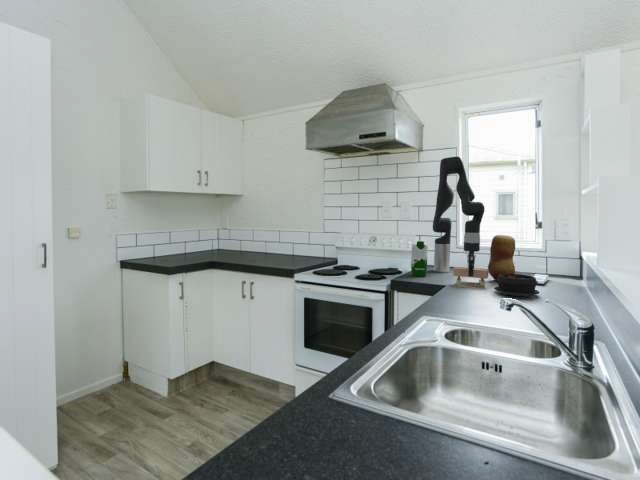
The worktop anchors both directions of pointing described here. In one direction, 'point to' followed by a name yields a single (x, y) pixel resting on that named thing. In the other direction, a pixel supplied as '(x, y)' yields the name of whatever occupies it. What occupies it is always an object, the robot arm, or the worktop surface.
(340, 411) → the worktop surface
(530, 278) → the casserole
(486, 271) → the brown wooden block
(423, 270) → the milk carton
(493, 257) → the butternut squash
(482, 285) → the rack
